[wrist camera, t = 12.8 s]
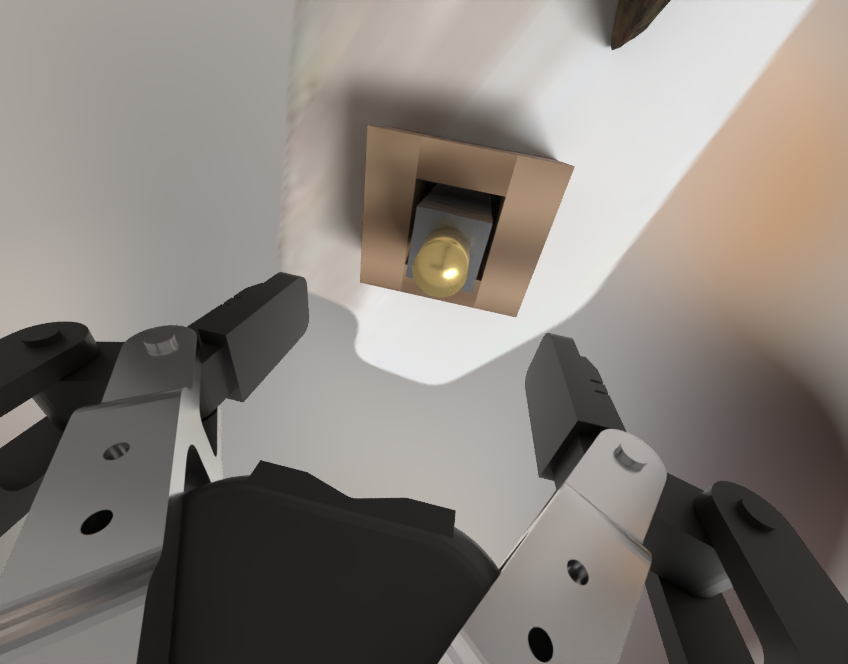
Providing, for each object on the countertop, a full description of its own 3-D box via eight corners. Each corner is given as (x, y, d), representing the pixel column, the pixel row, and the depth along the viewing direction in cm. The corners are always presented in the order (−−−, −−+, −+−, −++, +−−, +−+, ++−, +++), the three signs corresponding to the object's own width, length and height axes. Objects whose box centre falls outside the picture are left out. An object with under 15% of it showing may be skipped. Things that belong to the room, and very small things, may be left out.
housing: (389, 127, 22) (367, 125, 18) (556, 160, 21) (574, 166, 17) (378, 259, 27) (360, 282, 23) (511, 289, 27) (516, 317, 23)
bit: (438, 183, 23) (404, 219, 13) (490, 195, 23) (494, 240, 13) (428, 235, 26) (392, 299, 16) (475, 246, 25) (469, 318, 15)
